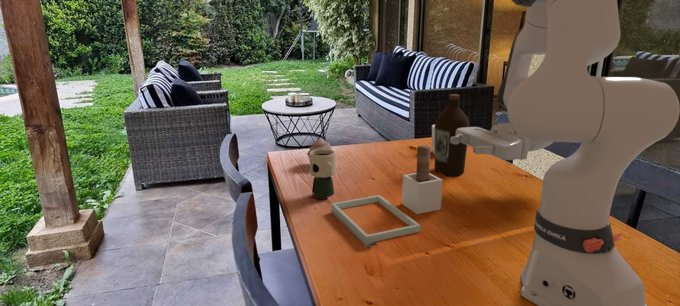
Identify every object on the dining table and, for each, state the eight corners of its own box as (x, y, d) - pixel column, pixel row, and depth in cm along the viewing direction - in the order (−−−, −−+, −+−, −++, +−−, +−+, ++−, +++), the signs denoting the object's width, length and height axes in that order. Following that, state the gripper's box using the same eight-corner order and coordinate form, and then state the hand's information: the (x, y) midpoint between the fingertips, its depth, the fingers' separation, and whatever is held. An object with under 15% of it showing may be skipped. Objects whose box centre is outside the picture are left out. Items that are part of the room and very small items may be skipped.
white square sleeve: (440, 212, 116) (442, 179, 114) (416, 217, 114) (418, 184, 111) (424, 202, 123) (426, 171, 120) (401, 206, 120) (403, 175, 117)
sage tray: (420, 235, 105) (420, 225, 104) (366, 247, 99) (366, 237, 99) (379, 203, 122) (379, 195, 122) (331, 212, 117) (331, 203, 116)
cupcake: (323, 160, 159) (323, 132, 156) (340, 166, 152) (340, 138, 149) (301, 165, 153) (300, 137, 151) (317, 172, 146) (317, 143, 144)
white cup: (452, 156, 162) (454, 129, 159) (430, 155, 164) (431, 128, 161) (452, 150, 170) (453, 124, 167) (430, 149, 171) (432, 123, 168)
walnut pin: (429, 207, 117) (433, 148, 112) (419, 209, 116) (422, 149, 111) (422, 203, 120) (425, 145, 115) (412, 205, 119) (415, 146, 114)
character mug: (304, 192, 131) (302, 148, 127) (326, 187, 134) (325, 145, 130) (319, 205, 121) (318, 159, 117) (343, 200, 124) (342, 155, 120)
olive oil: (451, 164, 154) (456, 91, 146) (473, 173, 145) (479, 96, 137) (425, 169, 149) (429, 93, 142) (446, 178, 140) (452, 99, 133)
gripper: (479, 119, 132) (440, 124, 127) (534, 137, 114) (490, 144, 109) (478, 140, 134) (438, 146, 128) (531, 161, 116) (488, 168, 111)
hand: (462, 145), depth 118 cm, fingers open, 8 cm apart
